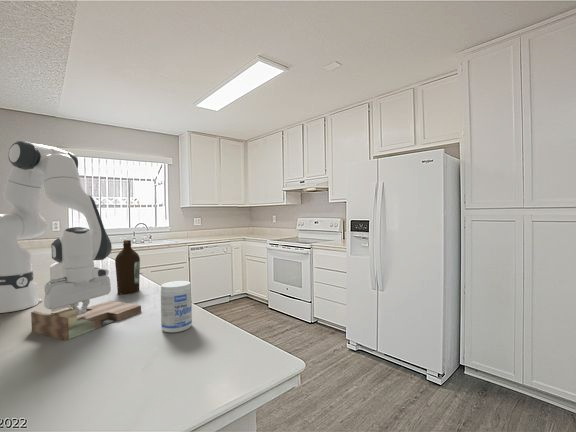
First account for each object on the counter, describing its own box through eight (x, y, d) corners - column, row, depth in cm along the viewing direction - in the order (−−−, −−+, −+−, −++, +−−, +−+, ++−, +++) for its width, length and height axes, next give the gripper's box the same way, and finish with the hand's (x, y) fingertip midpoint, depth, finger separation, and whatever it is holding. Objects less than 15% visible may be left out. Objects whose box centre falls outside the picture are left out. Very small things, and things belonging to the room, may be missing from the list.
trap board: (31, 331, 98) (31, 312, 98) (109, 306, 123) (109, 290, 123) (65, 340, 91) (64, 319, 91) (141, 311, 115) (140, 295, 115)
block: (51, 324, 97) (50, 312, 97) (67, 319, 102) (67, 307, 102) (60, 326, 95) (60, 314, 95) (77, 321, 100) (76, 309, 100)
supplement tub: (179, 335, 93) (178, 288, 93) (154, 332, 96) (153, 286, 95) (198, 323, 102) (196, 281, 102) (174, 321, 105) (173, 279, 105)
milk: (51, 318, 110) (48, 259, 110) (52, 314, 115) (49, 257, 114) (72, 314, 114) (69, 257, 113) (71, 310, 119) (69, 255, 118)
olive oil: (112, 295, 139) (111, 242, 139) (120, 289, 149) (118, 239, 149) (137, 293, 141) (135, 241, 141) (143, 288, 152) (141, 239, 151)
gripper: (50, 282, 92) (52, 326, 93) (112, 269, 111) (114, 306, 111) (38, 280, 95) (40, 323, 95) (101, 268, 114) (103, 304, 114)
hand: (80, 314), depth 104 cm, fingers closed
